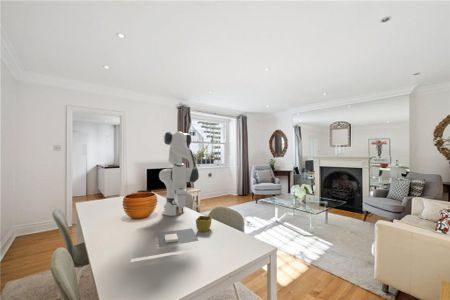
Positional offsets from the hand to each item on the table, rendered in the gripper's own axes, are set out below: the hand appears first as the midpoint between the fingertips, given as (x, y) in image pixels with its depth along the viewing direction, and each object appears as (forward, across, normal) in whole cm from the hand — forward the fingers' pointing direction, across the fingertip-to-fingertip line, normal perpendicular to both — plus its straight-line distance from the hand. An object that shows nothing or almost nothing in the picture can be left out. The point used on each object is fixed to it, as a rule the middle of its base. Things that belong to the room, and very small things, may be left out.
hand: (179, 211), depth 123 cm
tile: (+14, 0, -5) cm, 15 cm away
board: (+16, +1, -1) cm, 16 cm away
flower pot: (+16, -4, +17) cm, 24 cm away
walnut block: (+1, 0, 0) cm, 1 cm away
